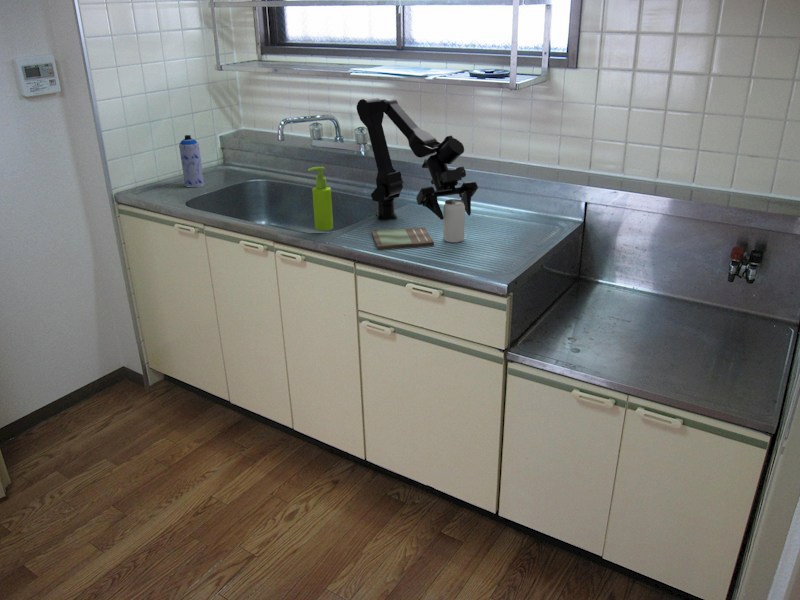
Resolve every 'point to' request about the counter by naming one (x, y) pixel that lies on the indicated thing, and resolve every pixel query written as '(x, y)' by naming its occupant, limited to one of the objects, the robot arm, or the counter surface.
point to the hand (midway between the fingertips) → (456, 217)
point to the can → (454, 221)
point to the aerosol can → (191, 162)
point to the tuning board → (402, 238)
